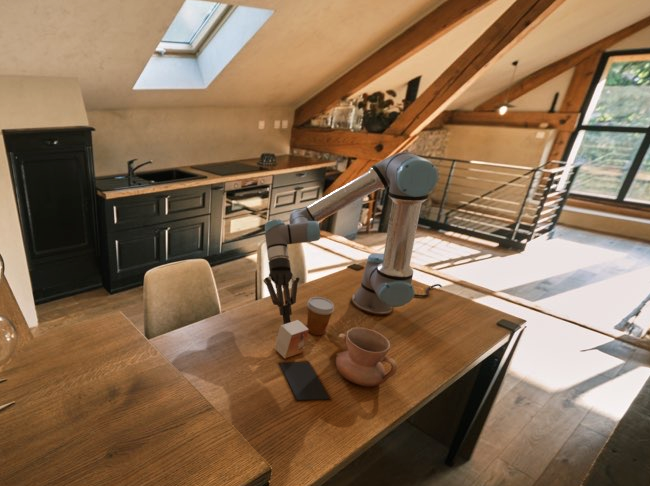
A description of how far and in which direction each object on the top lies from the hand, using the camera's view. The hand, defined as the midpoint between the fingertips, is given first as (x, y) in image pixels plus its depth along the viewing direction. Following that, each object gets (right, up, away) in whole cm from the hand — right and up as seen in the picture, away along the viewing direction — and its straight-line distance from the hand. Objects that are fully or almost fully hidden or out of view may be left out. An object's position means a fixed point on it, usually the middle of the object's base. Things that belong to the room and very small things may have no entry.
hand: (287, 324), depth 132 cm
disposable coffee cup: (+14, -5, +12) cm, 19 cm away
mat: (+1, -15, -13) cm, 19 cm away
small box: (0, -9, 0) cm, 9 cm away
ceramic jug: (+20, -15, -10) cm, 27 cm away
